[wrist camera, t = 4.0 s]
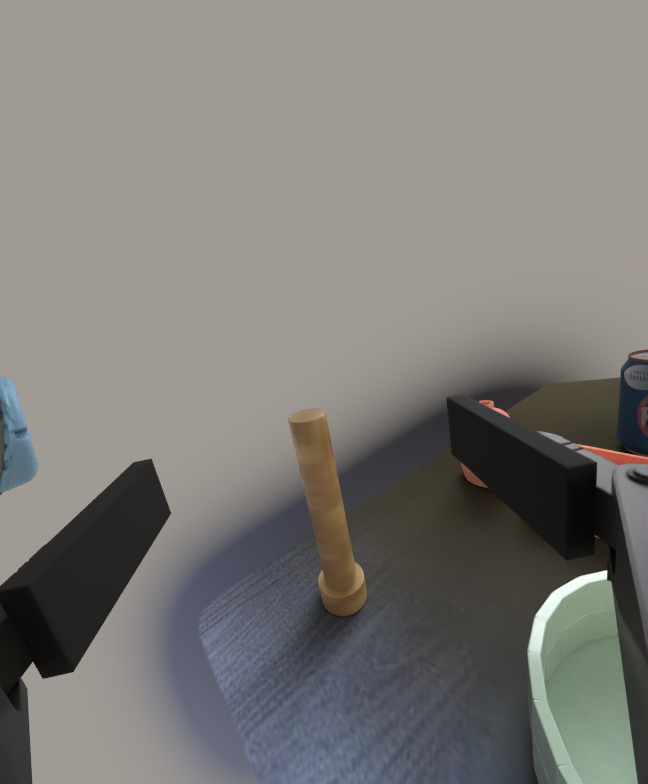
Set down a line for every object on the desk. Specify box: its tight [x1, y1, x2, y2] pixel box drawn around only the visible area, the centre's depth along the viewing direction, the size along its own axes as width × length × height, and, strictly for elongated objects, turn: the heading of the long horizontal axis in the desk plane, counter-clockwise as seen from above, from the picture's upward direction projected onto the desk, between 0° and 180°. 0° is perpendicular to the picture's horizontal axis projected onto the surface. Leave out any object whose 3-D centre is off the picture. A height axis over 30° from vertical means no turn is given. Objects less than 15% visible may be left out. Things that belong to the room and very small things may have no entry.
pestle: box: [288, 409, 367, 616], centre depth 26 cm, size 4×4×17 cm
